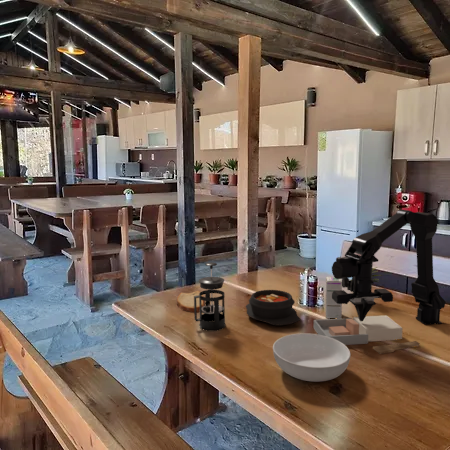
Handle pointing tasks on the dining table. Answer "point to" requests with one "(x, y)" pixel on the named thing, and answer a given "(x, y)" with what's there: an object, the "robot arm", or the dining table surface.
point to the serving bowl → (311, 356)
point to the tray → (323, 329)
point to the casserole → (272, 307)
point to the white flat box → (379, 328)
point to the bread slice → (189, 301)
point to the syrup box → (331, 306)
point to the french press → (212, 310)
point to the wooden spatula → (394, 347)
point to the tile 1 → (338, 331)
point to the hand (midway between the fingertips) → (361, 320)
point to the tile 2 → (352, 327)
